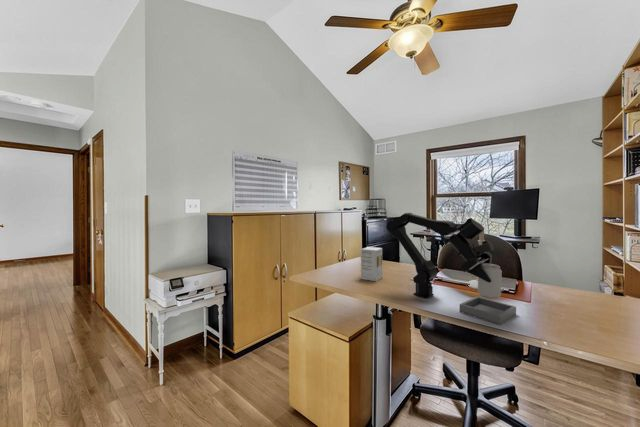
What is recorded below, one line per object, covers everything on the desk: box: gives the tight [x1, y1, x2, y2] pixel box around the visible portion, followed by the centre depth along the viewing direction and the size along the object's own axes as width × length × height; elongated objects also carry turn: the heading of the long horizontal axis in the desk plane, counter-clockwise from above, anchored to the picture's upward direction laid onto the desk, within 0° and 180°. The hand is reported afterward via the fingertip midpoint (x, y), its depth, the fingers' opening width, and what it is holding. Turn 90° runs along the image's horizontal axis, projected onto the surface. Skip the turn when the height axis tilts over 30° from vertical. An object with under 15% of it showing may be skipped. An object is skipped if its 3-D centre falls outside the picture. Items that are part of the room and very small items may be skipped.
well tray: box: [459, 295, 517, 326], centre depth 103 cm, size 14×14×3 cm
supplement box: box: [360, 246, 383, 282], centre depth 150 cm, size 10×9×17 cm
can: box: [477, 263, 503, 300], centre depth 102 cm, size 8×8×12 cm
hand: (493, 279), depth 101 cm, fingers closed on can, 7 cm apart
